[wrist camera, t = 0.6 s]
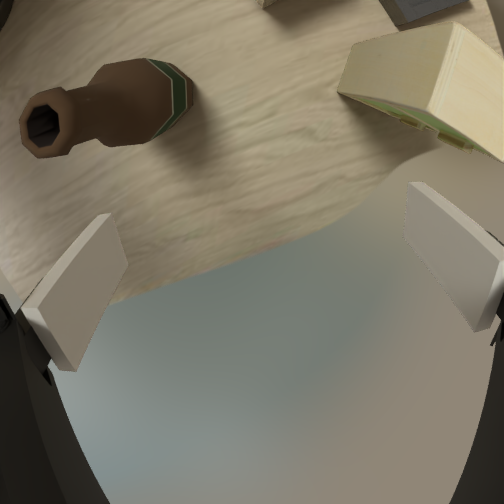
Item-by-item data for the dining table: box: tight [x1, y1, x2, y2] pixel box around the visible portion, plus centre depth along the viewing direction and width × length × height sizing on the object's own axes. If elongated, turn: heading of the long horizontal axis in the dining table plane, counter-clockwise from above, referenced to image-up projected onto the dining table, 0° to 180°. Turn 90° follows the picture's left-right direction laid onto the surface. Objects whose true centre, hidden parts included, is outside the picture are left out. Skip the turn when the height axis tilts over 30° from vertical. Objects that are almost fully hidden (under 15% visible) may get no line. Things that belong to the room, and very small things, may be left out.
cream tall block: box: [337, 21, 504, 163], centre depth 23 cm, size 8×7×21 cm
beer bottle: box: [19, 58, 193, 158], centre depth 22 cm, size 8×8×24 cm
